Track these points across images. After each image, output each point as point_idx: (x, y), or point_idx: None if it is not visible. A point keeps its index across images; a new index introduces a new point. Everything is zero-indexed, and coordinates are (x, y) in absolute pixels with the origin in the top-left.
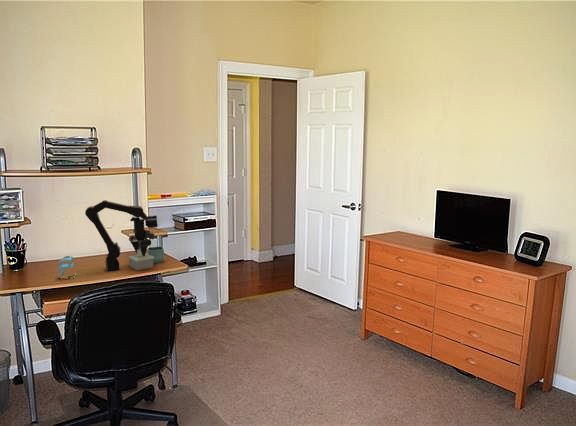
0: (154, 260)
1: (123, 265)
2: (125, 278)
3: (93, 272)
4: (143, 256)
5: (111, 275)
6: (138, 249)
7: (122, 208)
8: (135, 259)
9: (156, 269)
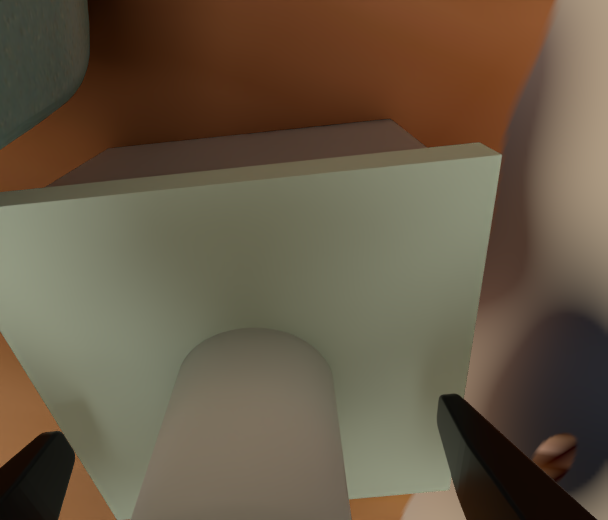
0: None
1: (23, 386)
2: (538, 450)
3: None
4: (326, 366)
5: (360, 501)
6: None
7: None
8: (426, 487)
9: (484, 96)
